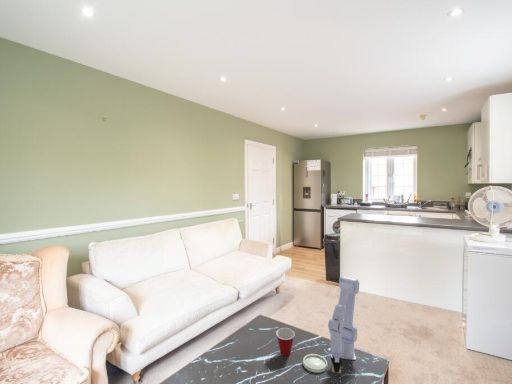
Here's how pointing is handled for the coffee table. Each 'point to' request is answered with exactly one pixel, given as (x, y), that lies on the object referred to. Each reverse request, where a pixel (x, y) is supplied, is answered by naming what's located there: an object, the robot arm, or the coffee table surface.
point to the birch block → (333, 369)
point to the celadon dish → (315, 363)
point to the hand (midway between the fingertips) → (336, 367)
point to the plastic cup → (285, 340)
